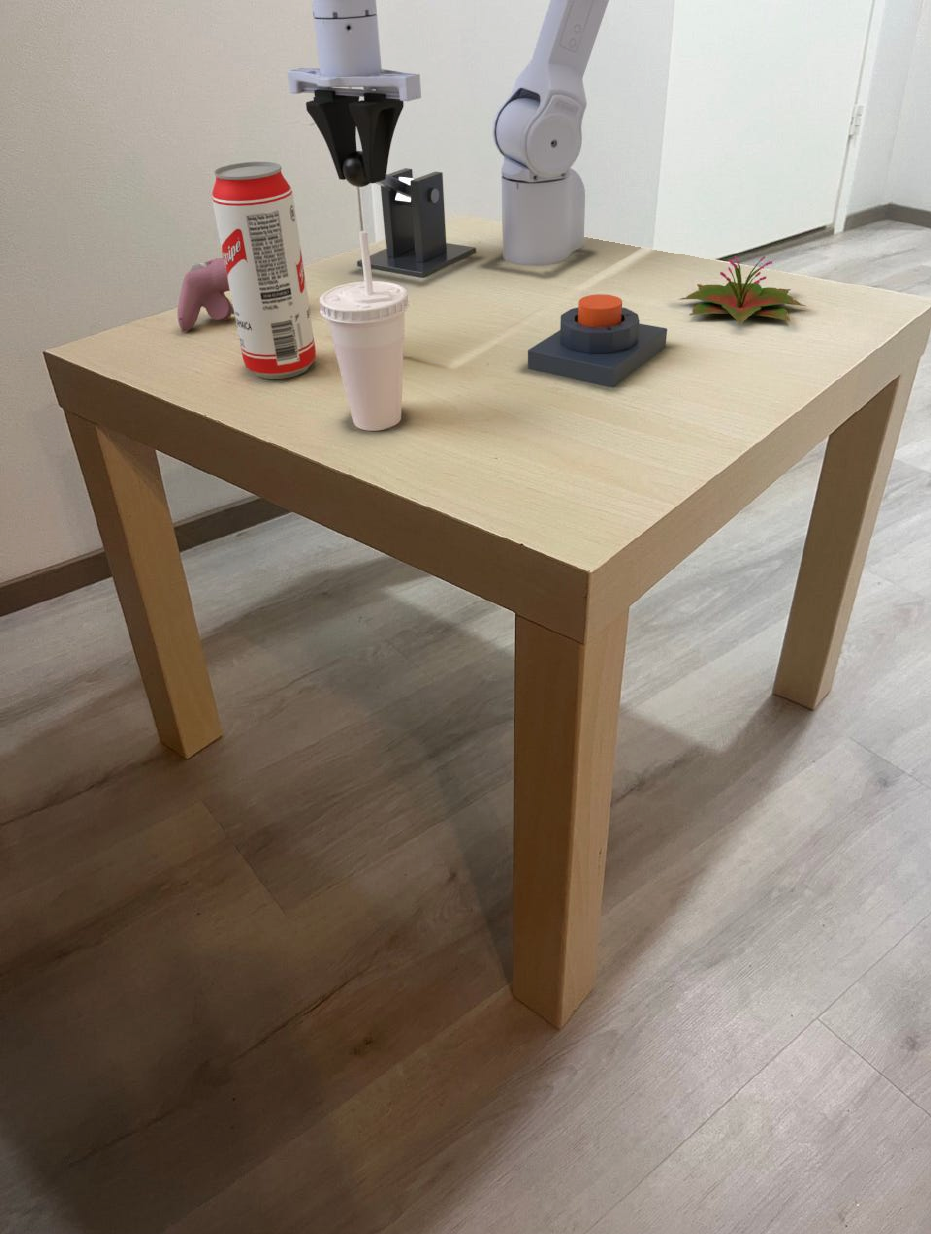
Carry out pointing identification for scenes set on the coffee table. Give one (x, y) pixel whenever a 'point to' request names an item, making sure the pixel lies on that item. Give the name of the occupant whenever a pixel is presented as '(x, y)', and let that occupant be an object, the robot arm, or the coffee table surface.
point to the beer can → (264, 268)
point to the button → (599, 310)
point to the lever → (357, 177)
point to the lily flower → (742, 297)
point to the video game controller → (204, 293)
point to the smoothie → (369, 344)
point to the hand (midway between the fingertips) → (362, 179)
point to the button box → (597, 349)
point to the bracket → (416, 230)
